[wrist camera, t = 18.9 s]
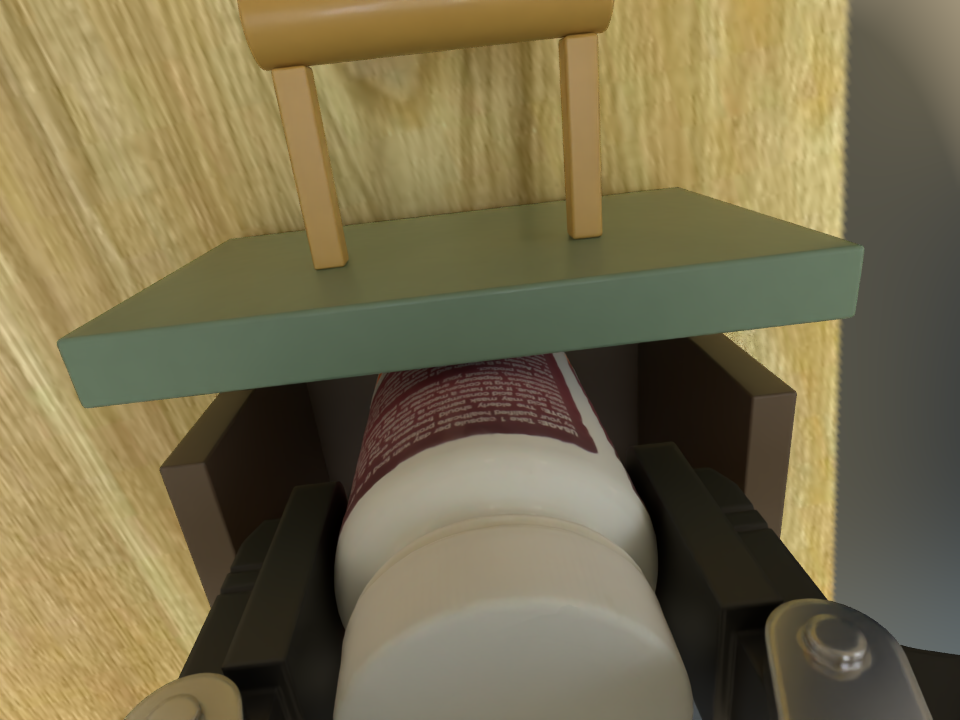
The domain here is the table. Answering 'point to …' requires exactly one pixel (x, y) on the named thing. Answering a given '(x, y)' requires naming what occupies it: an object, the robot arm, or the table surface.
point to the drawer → (457, 294)
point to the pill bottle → (498, 557)
